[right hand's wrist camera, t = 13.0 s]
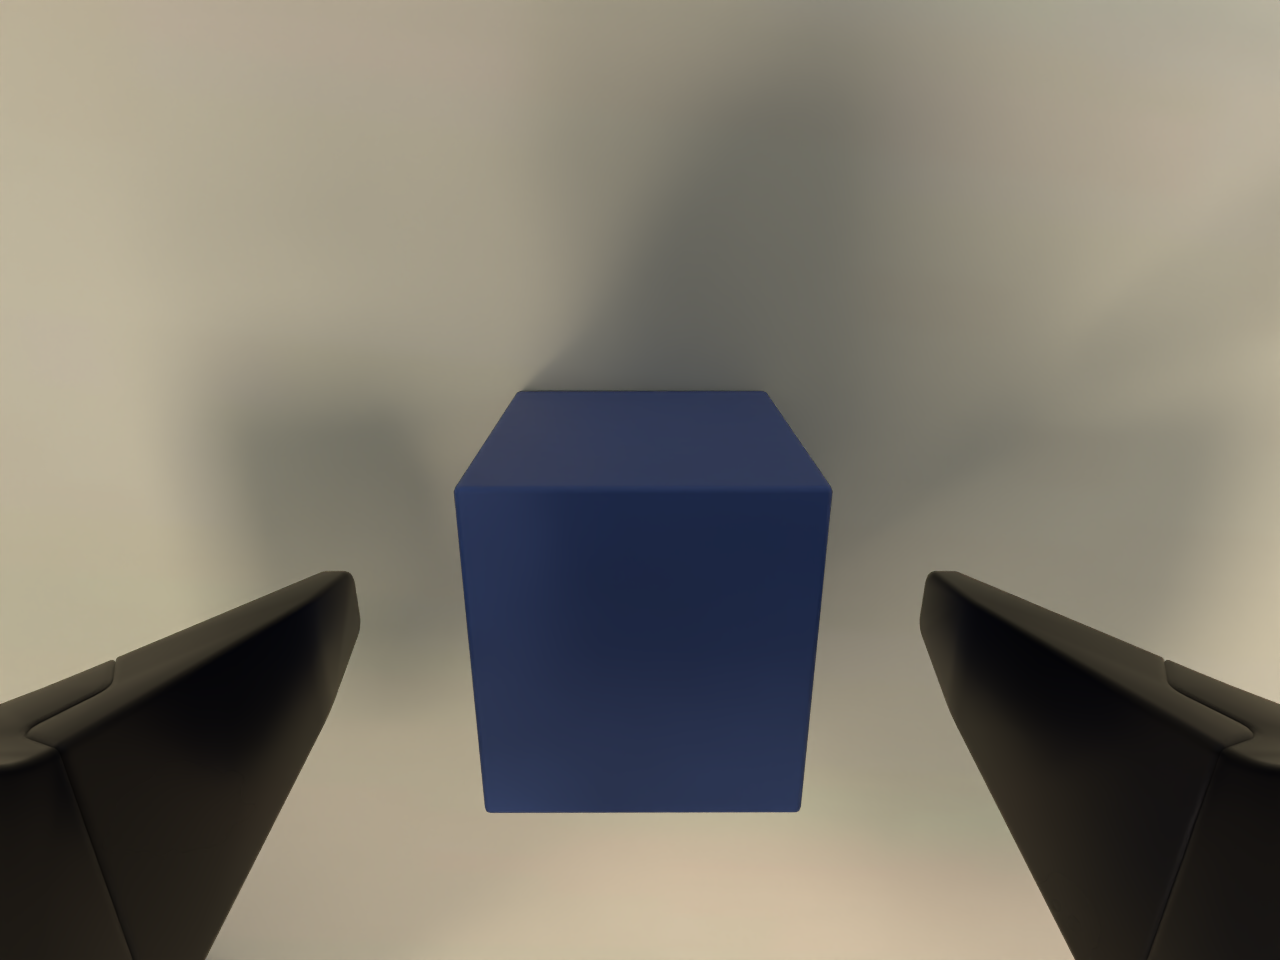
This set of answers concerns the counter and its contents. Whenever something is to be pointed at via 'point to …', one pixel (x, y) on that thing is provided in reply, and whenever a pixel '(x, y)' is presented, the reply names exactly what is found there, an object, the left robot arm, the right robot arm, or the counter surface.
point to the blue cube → (642, 602)
